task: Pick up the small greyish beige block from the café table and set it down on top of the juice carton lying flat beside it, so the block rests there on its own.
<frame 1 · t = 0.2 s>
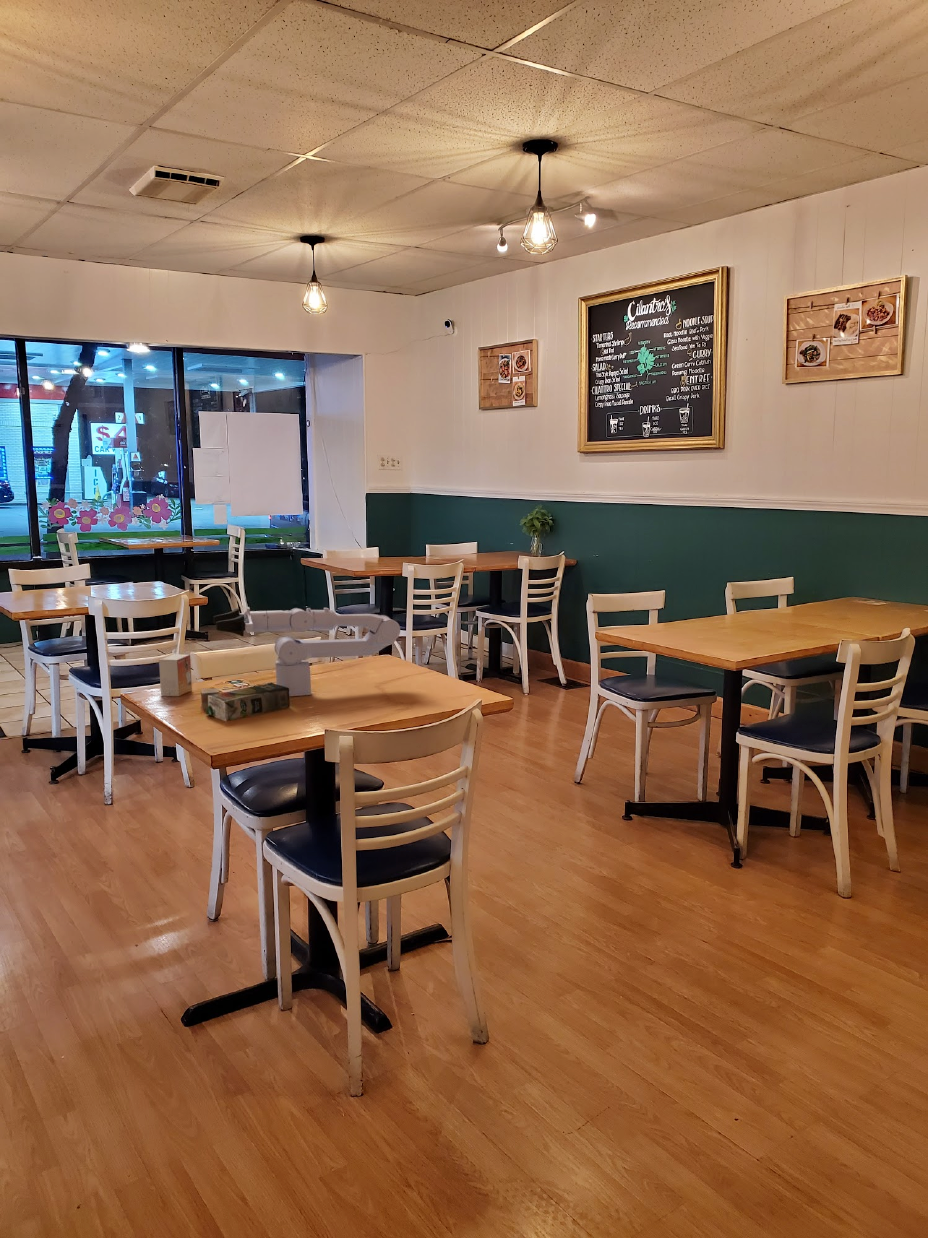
hand: (215, 623, 252), 21 cm above the table, tool horizontal, fingers open, 7 cm apart
small box: (176, 693, 264), on the table
juice carton: (248, 713, 244), on the table
greyish beige block: (210, 707, 249), on the table
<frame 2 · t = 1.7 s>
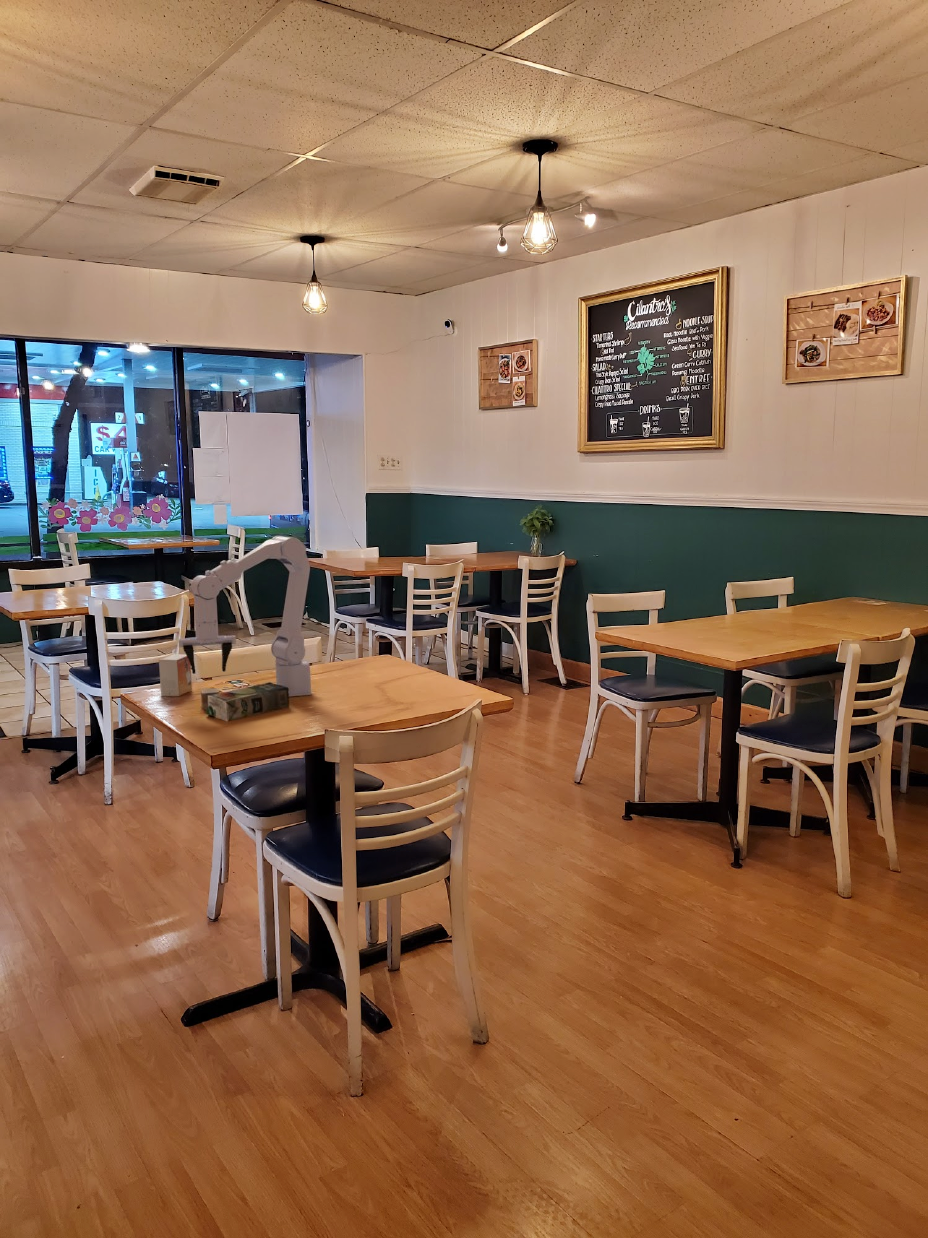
hand: (208, 671, 247), 10 cm above the table, tool pointing down, fingers open, 7 cm apart
nothing on the table moved.
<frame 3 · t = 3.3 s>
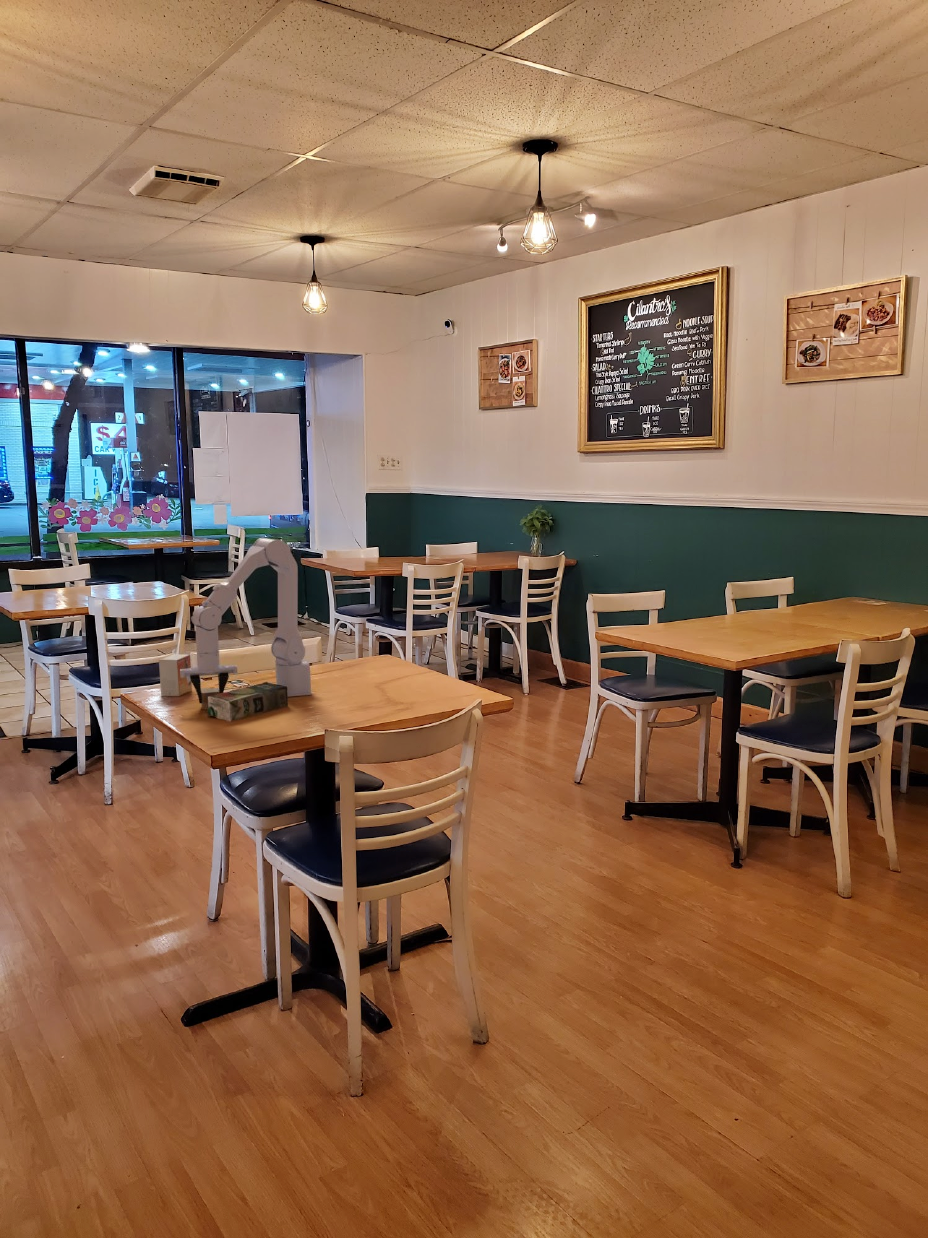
hand: (210, 701, 249), 1 cm above the table, tool pointing down, fingers closed on greyish beige block, 4 cm apart
greyish beige block: (210, 706, 249), on the table, touching gripper
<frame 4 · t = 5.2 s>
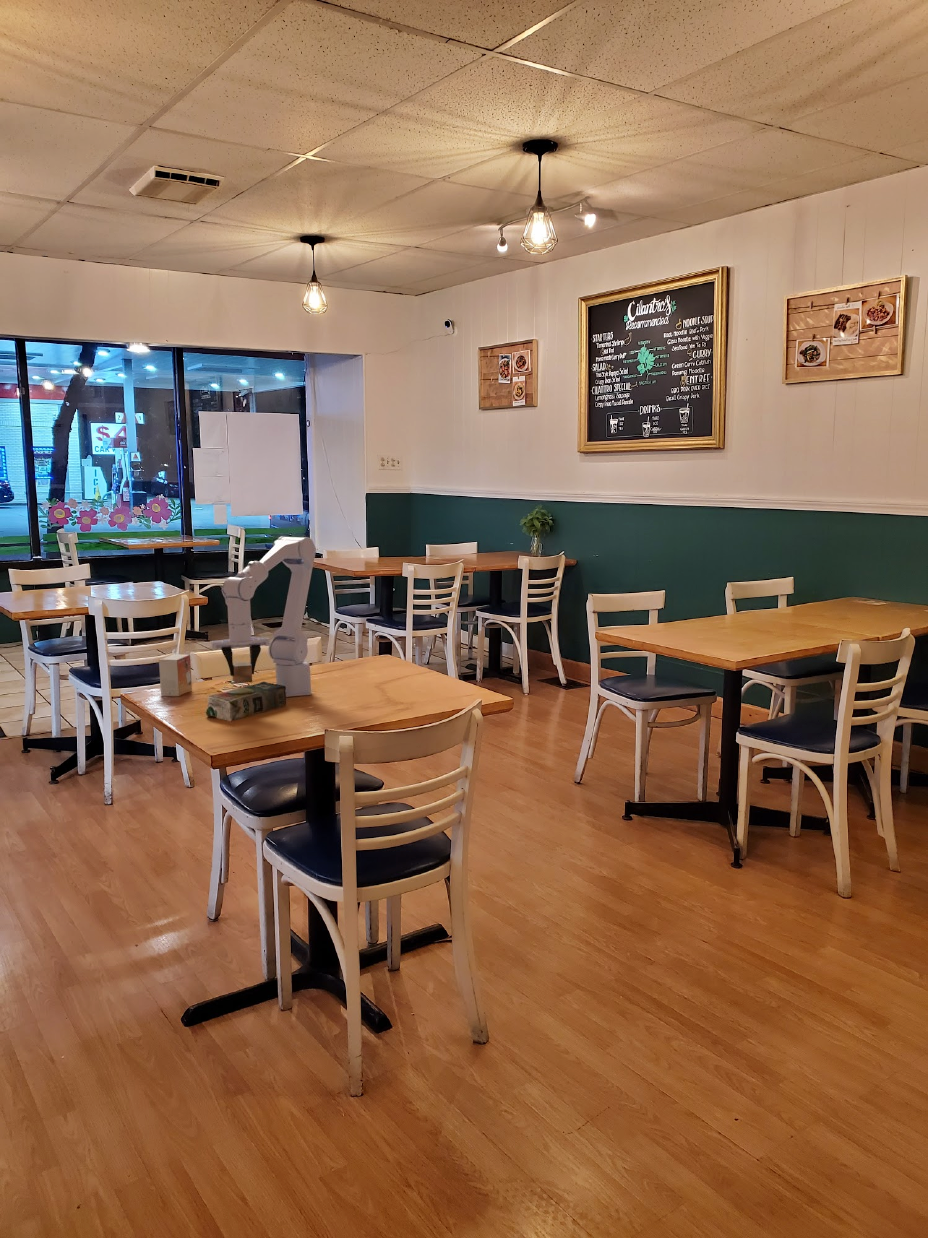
hand: (242, 674, 244), 9 cm above the table, tool pointing down, fingers closed on greyish beige block, 4 cm apart
greyish beige block: (242, 680, 244), point 8 cm above the table, touching gripper
when the fingers open (9 cm above the table, at t = 6.2 s): greyish beige block drops 1 cm, point 6 cm above the table.
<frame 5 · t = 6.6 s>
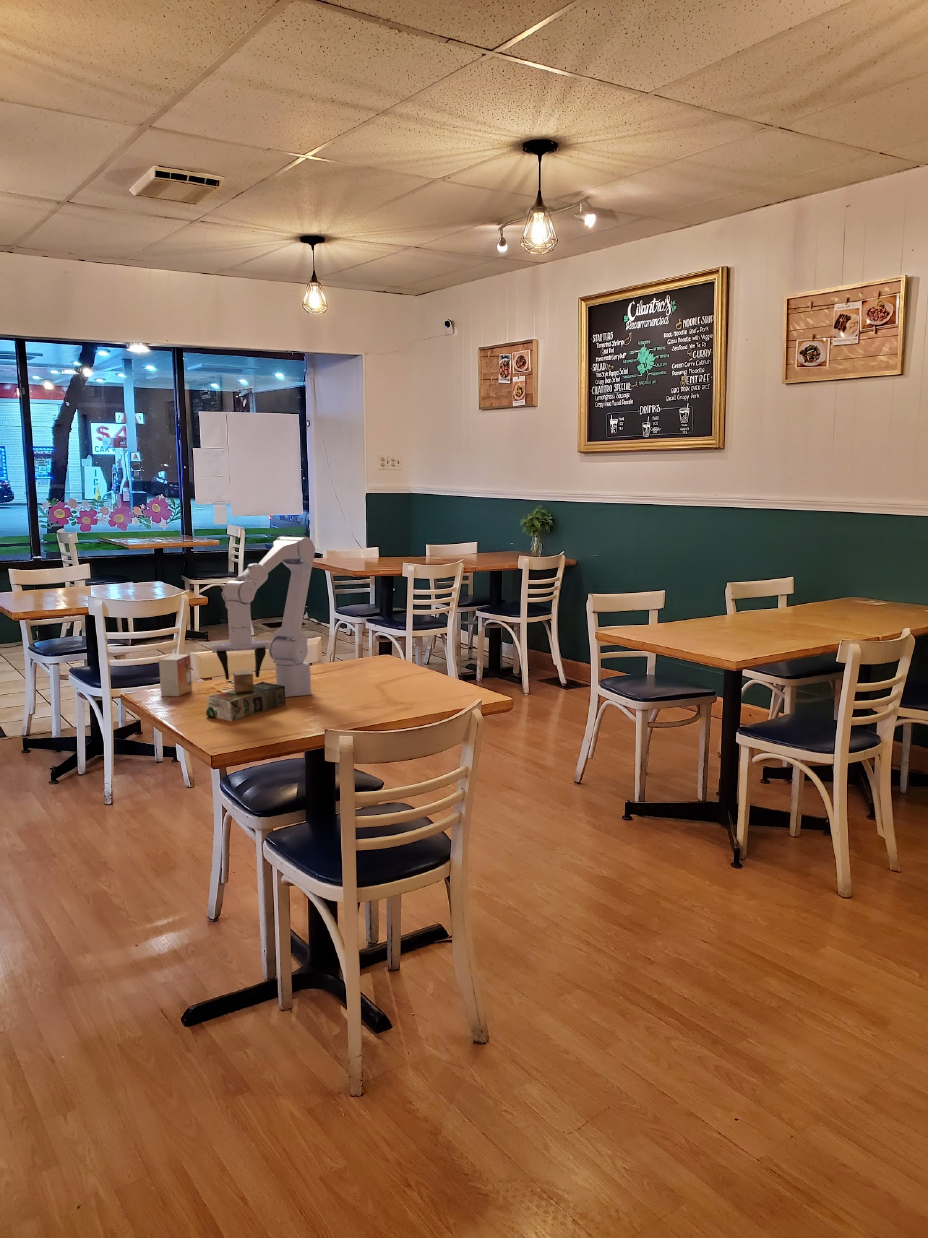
hand: (242, 677, 244), 9 cm above the table, tool pointing down, fingers open, 7 cm apart
greyish beige block: (243, 689, 245), point 6 cm above the table
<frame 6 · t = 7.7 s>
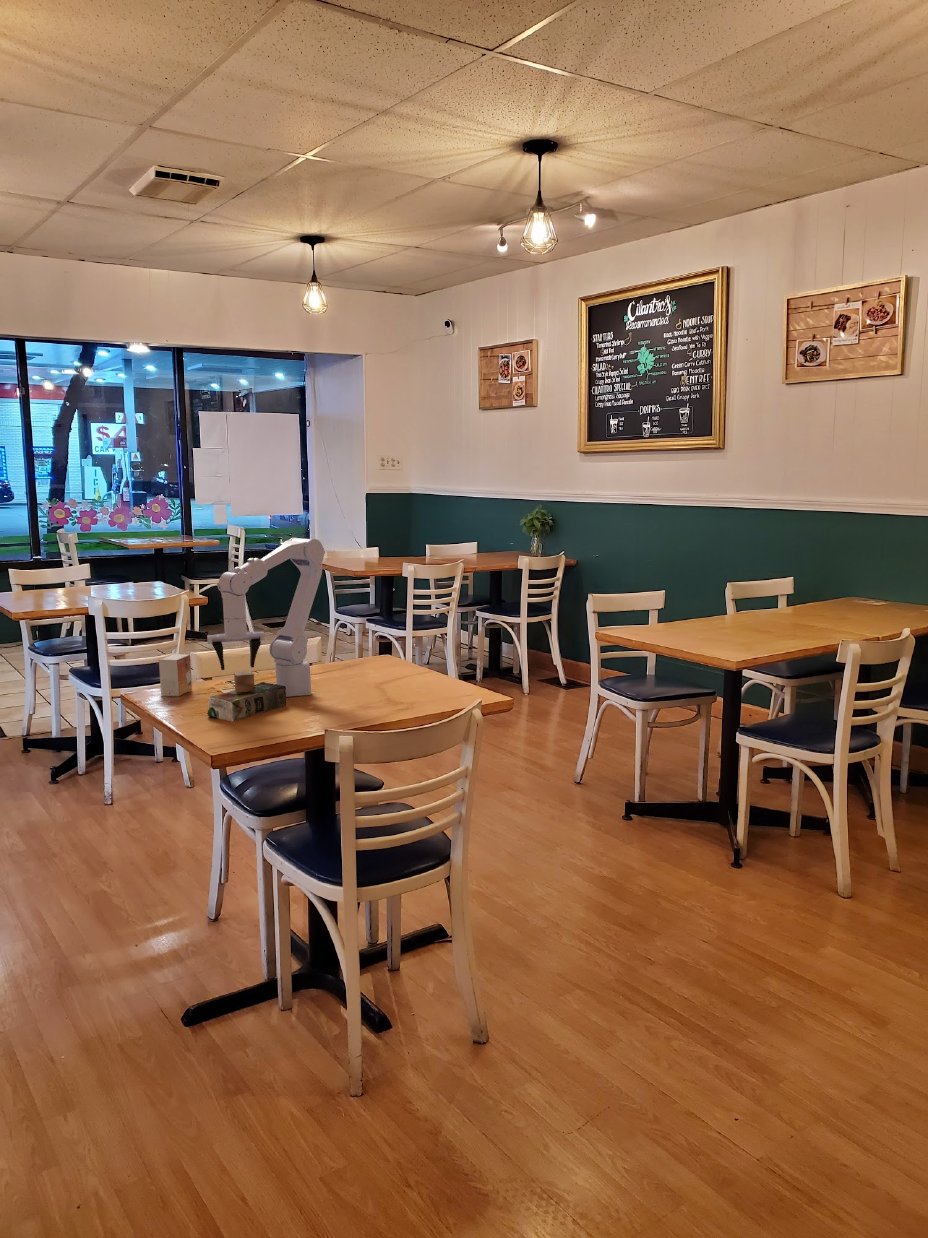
hand: (237, 668, 248), 10 cm above the table, tool pointing down, fingers open, 7 cm apart
juice carton: (247, 713, 245), on the table, touching greyish beige block
greyish beige block: (244, 690, 244), point 5 cm above the table, touching juice carton
everything else where it was.
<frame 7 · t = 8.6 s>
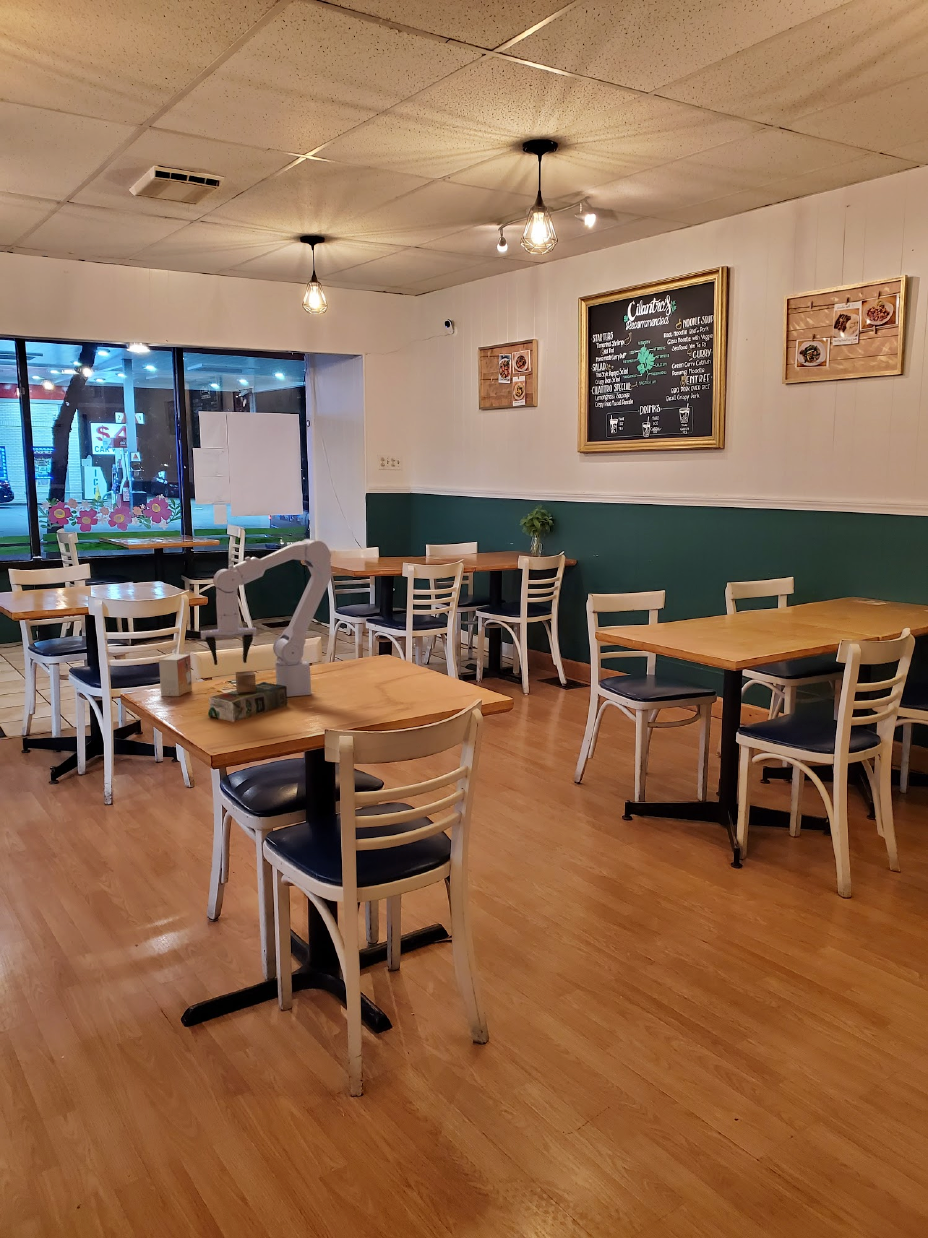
hand: (230, 663, 254), 10 cm above the table, tool pointing down, fingers open, 7 cm apart
juice carton: (248, 713, 245), on the table
greyish beige block: (246, 690, 244), point 5 cm above the table
everything else where it was.
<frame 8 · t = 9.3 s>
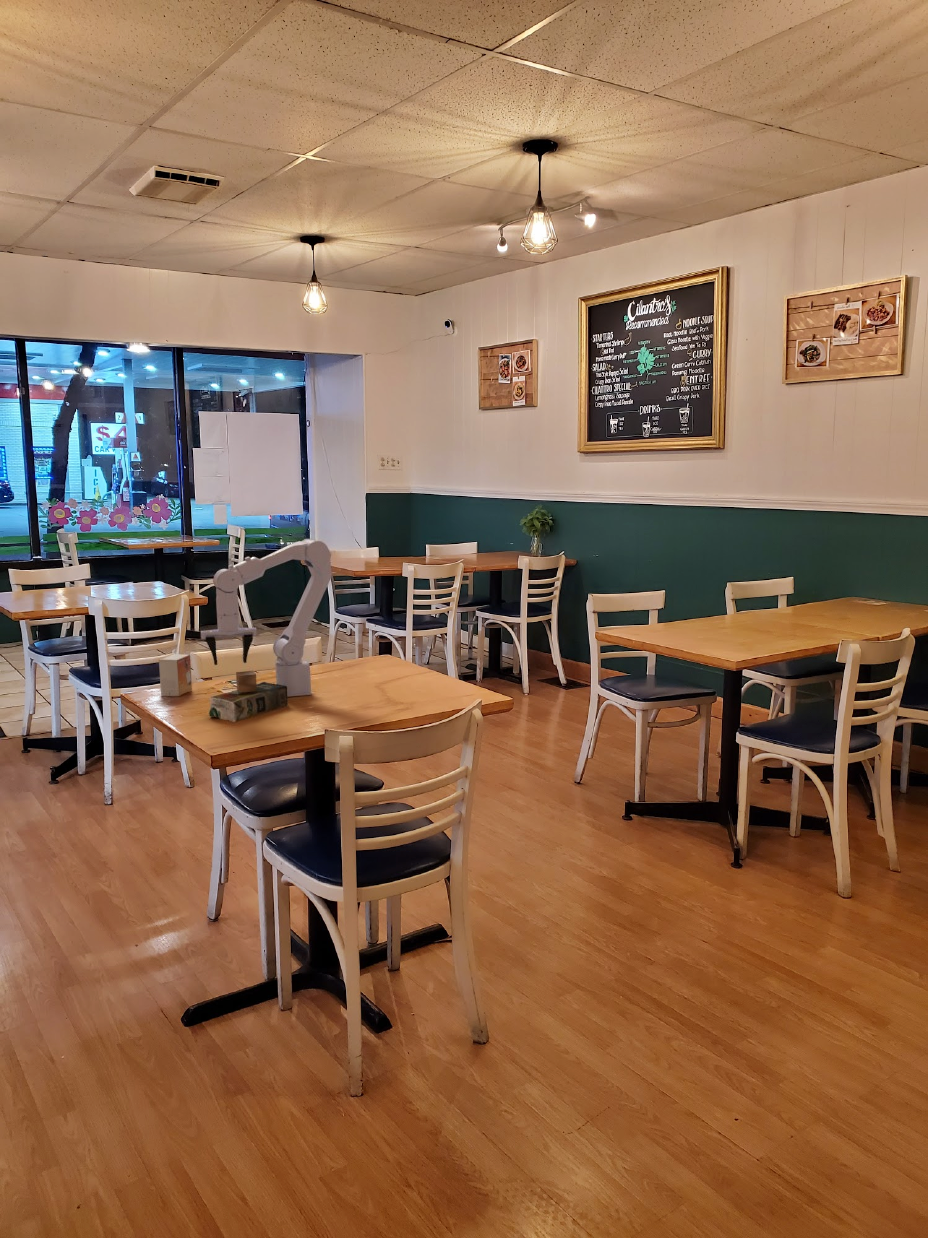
hand: (230, 663, 254), 10 cm above the table, tool pointing down, fingers open, 7 cm apart
juice carton: (248, 713, 245), on the table, touching greyish beige block
greyish beige block: (246, 690, 244), point 6 cm above the table, touching juice carton
everything else where it was.
at the end: greyish beige block inside the target area on the juice carton (0.6 cm from its centre), point 6.1 cm above the juice carton's base; greyish beige block tilted 0°; greyish beige block touching juice carton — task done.
